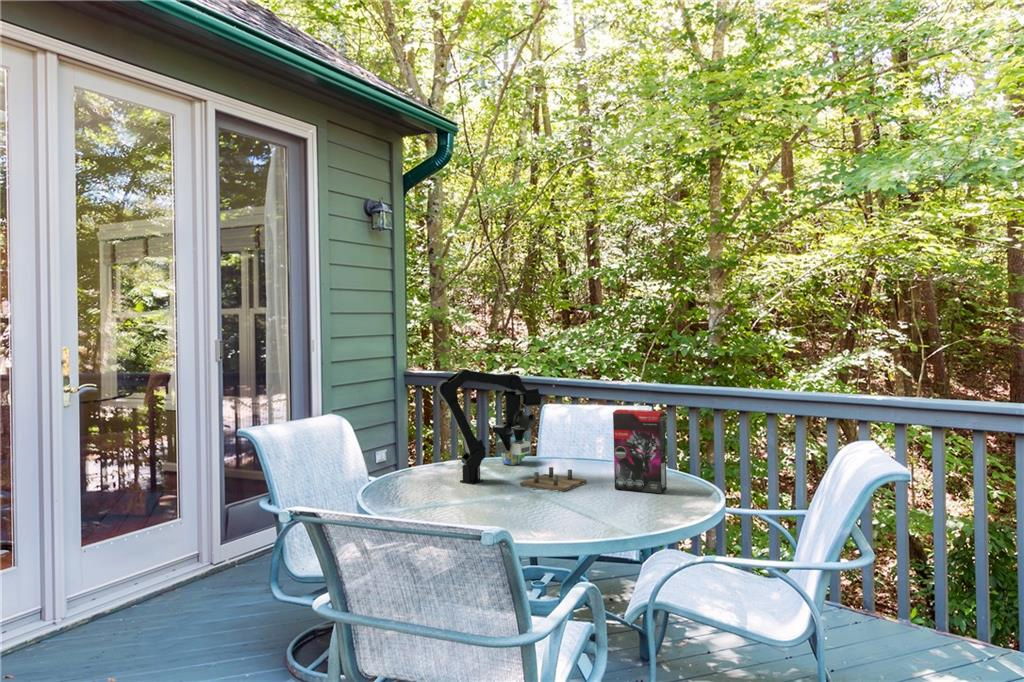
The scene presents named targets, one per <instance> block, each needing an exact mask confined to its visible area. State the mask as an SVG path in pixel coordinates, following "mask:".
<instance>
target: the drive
mask: <svg viewBox="0 0 1024 682" xmlns="http://www.w3.org/2000/svg"><path fill="white" fill-rule="evenodd" d="M495 445H496V446H495V449H496V453H497V454H498V453H499V454H501V453H506V454H515V455H523V454H525V455H526V454H530V453H531V451H532V449H531V441H528V440H527V441H526V440H525V441H519V440H511V442H510V451H507V450H506V448H505V446H504V444H503V442H502V440H501V441H499V440H498V441H496V442H495Z"/></svg>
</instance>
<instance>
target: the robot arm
mask: <svg viewBox="0 0 1024 682" xmlns="http://www.w3.org/2000/svg"><path fill="white" fill-rule="evenodd" d="M467 381H471V382H472V381H473V382H478V383H484V384H492V385H496V386H500V387H502V388H506V389H508V390H509V391H507V390H506V389H503V390H502V391H501V392H500V393H499V396H500V397H504V410H502V414H505V416H504V417H505V418H504V419H505V420H504V421H502V423H503V424H502V423H497V424H494V425H493V426H492V428H491V429H492V433H493V434H496V435H498V437H499V438H500V439H501V440H502V442H503V444H504V446H505V448H506V450H507V451H510V442H511V437H512V436H513V435H514V437H515V440H519V441H523V439H524V438H525V434H526V433H527V432H528V431H530V429H533V428H534V424H536V423H537V418H536V415H535V414H533V413H530V414H529V415H528V414H527V415H525V414H524V410H523V409H521V405H523V406H524V408H530V407H541V404H542V397H541V394H540V391H539V388H537V387H534V388H526V387H525V386H524V385H523V382H522V381H523V380H522V378H521V377H520V376H519V375H518V374H515V373H497V374H496V373H488V372H481V371H475V370H468V369H466V368H461V369H460V370H459V371H458V372H456V373H455V374H453V375H451V376H450V377H448V378H447V379H442V380H440V381H438V383H437V385H436V387H435V388H436V392H437V393H438V395H439V396H440V397H441V399H442V401H443V402H445V404H446V406H448V409H449V412H450V413H451V415H452V417H453V421H454V422H455V424H456V426H457V428H458V431H459V432H460V434H461V436H462V438H463V443H464V449H465V453H464V454H462V456H461V457H460V460H461V462H462V464H463V465H462V466H461V468H462V479H460V480H459V481H460V482H459V483H463V482H466V483H465V484H470V483H474V484H476V482H477V483H479V482H480V481H481V482H482V481H484V478H481V464H482V461H483V460H484V459H485V458H486V455H487V454H486V450H487V448H486V447H485V445H484V442H483V439H482V438H480V437H478V436H475V435H474V433H473V430H472V429H471V428H472V427H471V426H470V423H469V422H468V420H467V418H466V416H465V413H464V412H463V411H464V410H463V409H462V406H461V405H460V403H459V398H458V393H457V389H459V388H461V386H462V385H463V384H464V383H466V382H467ZM515 391H516V392H515ZM517 392H518V393H517ZM519 392H520V393H519ZM512 430H513V431H512ZM481 482H480V483H481Z"/></svg>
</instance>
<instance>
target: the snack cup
mask: <svg viewBox="0 0 1024 682" xmlns="http://www.w3.org/2000/svg"><path fill="white" fill-rule="evenodd" d="M511 440H515V436H514V437H512V436H511ZM498 441H501V438H500V439H498ZM523 441H526V440H525V438H523ZM500 454H501V459H502V464H503V463H504V464H503V465H506V464H509V465H508V466H511V465H510V464H519V465H520V464H522V460H523V459H525V457H526V454H523V455H515V454H506V453H500Z"/></svg>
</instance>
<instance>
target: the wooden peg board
mask: <svg viewBox="0 0 1024 682" xmlns="http://www.w3.org/2000/svg"><path fill="white" fill-rule="evenodd" d="M533 474H534V476H533V477H531V478H529V479H526V480H523V481H520V482H519V486H520V485H522V486H521V487H526V486H529V487H528V488H532V487H536V488H535V489H539V488H543V489H542V490H546V489H550V490H549V491H553V490H558V491H557V492H560V491H564V492H567V491H569V490H568V489H570V490H571V488H572V489H574V488H573V487H575V488H577V487H579V486H578V485H580V486H582V485H584V484H583V483H585V484H587V483H586V482H588V480H587V479H586V478H579V477H573V469H571V468H569V469H567V476H563V475H562V476H561V475H558V474H554V467H553V466H550V467H548V474H547V473H543V474H541V475H540V473H539V471H534V473H533ZM581 484H582V485H581ZM576 486H577V487H576ZM566 490H567V491H566Z"/></svg>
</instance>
